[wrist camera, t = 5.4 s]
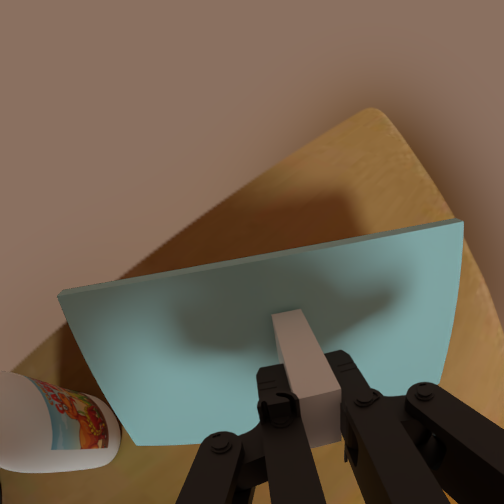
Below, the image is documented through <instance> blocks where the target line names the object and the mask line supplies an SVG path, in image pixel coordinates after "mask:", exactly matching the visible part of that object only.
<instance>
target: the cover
mask: <svg viewBox="0 0 504 504" xmlns="http://www.w3.org/2000/svg"><path fill="white" fill-rule="evenodd" d="M463 229H464V222H463V221H462V220H459V219H456V218H454V219H449V220H443V221H438V222H433V223H427V224H422V225H417V226H411V227H406V228H401V229H395V230H390V231H385V232H379V233H374V234H369V235H363V236H358V237H353V238H347V239H342V240H336V241H331V242H326V243H320V244H315V245H309V246H304V247H298V248H293V249H288V250H282V251H277V252H271V253H266V254H260V255H255V256H249V257H244V258H238V259H233V260H227V261H222V262H216V263H211V264H205V265H200V266H194V267H189V268H183V269H178V270H172V271H167V272H161V273H155V274H150V275H144V276H139V277H133V278H127V279H122V280H116V281H111V282H105V283H99V284H94V285H88V286H83V287H77V288H71V289H65V290H62V292H60V293H59V294H58V296H57V298H58V300H59V302H60V305H61V307H62V310H63V312H64V315H65V317H66V320H67V322H68V324H69V326H70V329H71V331H72V333H73V335H74V338H75V340H76V342H77V344H78V346H79V348H80V350H81V352H82V354H83V356H84V358H85V360H86V362H87V364H88V366H89V368H90V370H91V372H92V374H93V376H94V377H95V379H96V381H97V383H98V385H99V387H100V388H101V390H102V392H103V394H104V395H105V397H106V399H107V400H108V402H109V404H110V405H111V407H112V409H113V410H114V412H115V414H116V415H117V417H118V418H119V420H120V421H121V423H122V425H123V426H124V428H125V429H126V431H127V432H128V434H129V435H130V437H131V438H132V440H133V441H134V442H135V444H136V445H137V446H156V445H183V444H198V443H202V442H203V440H204V439H205V438H206V437H208V436H209V435H210V434H213V433H216V432H221V431H228V432H233V433H235V434H236V435H238V436H239V435H241V434H244V433H246V432H248V431H250V430H252V429H253V428H254V427H256V426H257V424H258V423H259V421H260V419H259V415H258V410H257V403H258V401H259V397H258V389H257V381H256V374H257V372H258V370H259V368H260V367H266V366H271V365H276V364H280V363H279V359H278V353H277V346H276V340H275V334H274V328H273V322H272V316H271V314H277V313H282V312H287V311H292V310H297V309H301V310H302V312H303V314H304V316H305V318H306V320H307V322H308V324H309V326H310V328H311V330H312V332H313V334H314V336H315V338H316V340H317V342H318V344H319V345H320V347H321V349H322V351H323V353H329V352H333V351H337V350H343V351H345V352H346V353H348V354H350V356H351V358H352V359H353V361H354V363H355V364H356V365H357V368H358V369H359V370H360V372H361V373H362V375H363V376H364V378H365V380H366V381H367V383H368V384H369V386H370V388H373V389H375V390H378V391H379V392H380V393H382V394H383V396H400V395H406V393H407V391H408V389H409V388H410V387H411V386H412V385H414V384H416V383H419V382H431V383H434V384H436V385H437V384H439V382H440V378H441V375H442V371H443V367H444V363H445V359H446V355H447V350H448V346H449V341H450V336H451V331H452V326H453V321H454V315H455V309H456V303H457V296H458V288H459V280H460V271H461V261H462V248H463Z"/></svg>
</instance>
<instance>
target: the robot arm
mask: <svg viewBox="0 0 504 504" xmlns="http://www.w3.org/2000/svg"><path fill="white" fill-rule="evenodd" d="M271 316H272V322H273V328H274V334H275V340H276V346H277V353H278V359H279V363H280V364H276V365H271V366H266V367H260V368H259V370H258V372H257V374H256V381H257V389H258V397H259V401H258V403H257V410H258V415H259V419H260V421H259V423H258V424H257V426H256V427H254V428H253V429H252V430H250V431H248V432H246V433H244V434H241V435H239V436H238V435H236V434H235V433H233V432H228V431H221V432H216V433H213V434H210V435H209V436H208V437H206V438H205V439H204V440H203V442H202V443H201V445H200V447H199V450H198V452H197V454H196V457H195V459H194V462H193V464H192V466H191V469H190V471H189V473H188V476H187V478H186V480H185V483H184V485H183V487H182V490H181V492H180V494H179V496H178V499H177V501H176V503H175V504H252V500H253V496H254V492H255V486H257V485H260V484H262V483H264V482H267V481H268V483H269V490H270V497H271V504H326V501H325V497H324V494H323V490H322V487H321V483H320V480H319V476H318V473H317V470H316V466H315V463H314V459H313V456H312V452H311V449H310V448H315V447H319V446H323V445H327V444H331V443H335V442H339V441H341V433H342V435H343V438H344V440H345V450H344V462H347V461H348V460H349V462H350V465H351V467H352V470H353V473H354V475H355V478H356V480H357V483H358V485H359V488H360V490H361V493H362V496H363V498H364V501H365V503H366V504H450V502H449V500H448V498H447V497H446V495H445V493H444V492H443V490H444V491H445V492H446V493H447V494H448V495H449V496H451V497H452V498H453V499H454V500H455V501H456V502H457V503H458V504H504V429H502V428H501V427H499V426H498V425H496V424H495V423H493V422H492V421H490V420H489V419H487V418H486V417H484V416H483V415H481V414H480V413H478V412H477V411H475V410H474V409H472V408H471V407H469V406H468V405H466V404H465V403H463V402H462V401H460V400H459V399H457V398H456V397H454V396H453V395H451V394H450V393H448V392H447V391H445V390H444V389H442V388H441V387H439V386H438V385H436V384H434V383H431V382H419V383H416V384H414V385H412V386H411V387H410V388H409V389H408V391H407V393H406V395H400V396H383V394H382V393H380V392H379V391H378V390H375V389H373V388H370V386H369V384H368V383H367V381H366V380H365V378H364V376H363V375H362V373H361V372H360V370H359V369H358V368H357V365H356V364H355V363H354V361H353V359H352V358H351V356H350V354H348V353H346V352H345V351H343V350H337V351H333V352H329V353H323V351H322V349H321V347H320V345H319V344H318V342H317V340H316V338H315V336H314V334H313V332H312V330H311V328H310V326H309V324H308V322H307V320H306V318H305V316H304V314H303V312H302V310H301V309H297V310H292V311H287V312H282V313H277V314H271ZM442 489H443V490H442ZM0 504H1V489H0Z"/></svg>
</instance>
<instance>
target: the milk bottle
mask: <svg viewBox="0 0 504 504" xmlns="http://www.w3.org/2000/svg"><path fill="white" fill-rule="evenodd" d="M120 440H121V436H120V428H119V424H118V422H117V419H116V417H115V415H114V414H113V412H112V410H111V409H110V408H109V407H108V406H107V405H106V404H105V403H104V402H103V401H102V400H100V399H98V398H97V397H94V396H91V395H88V394H85V393H81V392H77V391H73V390H70V389H66V388H63V387H59V386H56V385H52V384H49V383H46V382H42V381H39V380H36V379H33V378H30V377H26V376H23V375H19V374H16V373H11V372H6V371H0V467H1V468H3V469H6V470H10V471H15V472H22V473H49V472H64V471H74V470H83V469H90V468H96V467H101V466H104V465H106V464H108V463H109V462H110V461H112V460H113V458H114V457H115V456H116V454H117V452H118V449H119V446H120Z"/></svg>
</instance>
